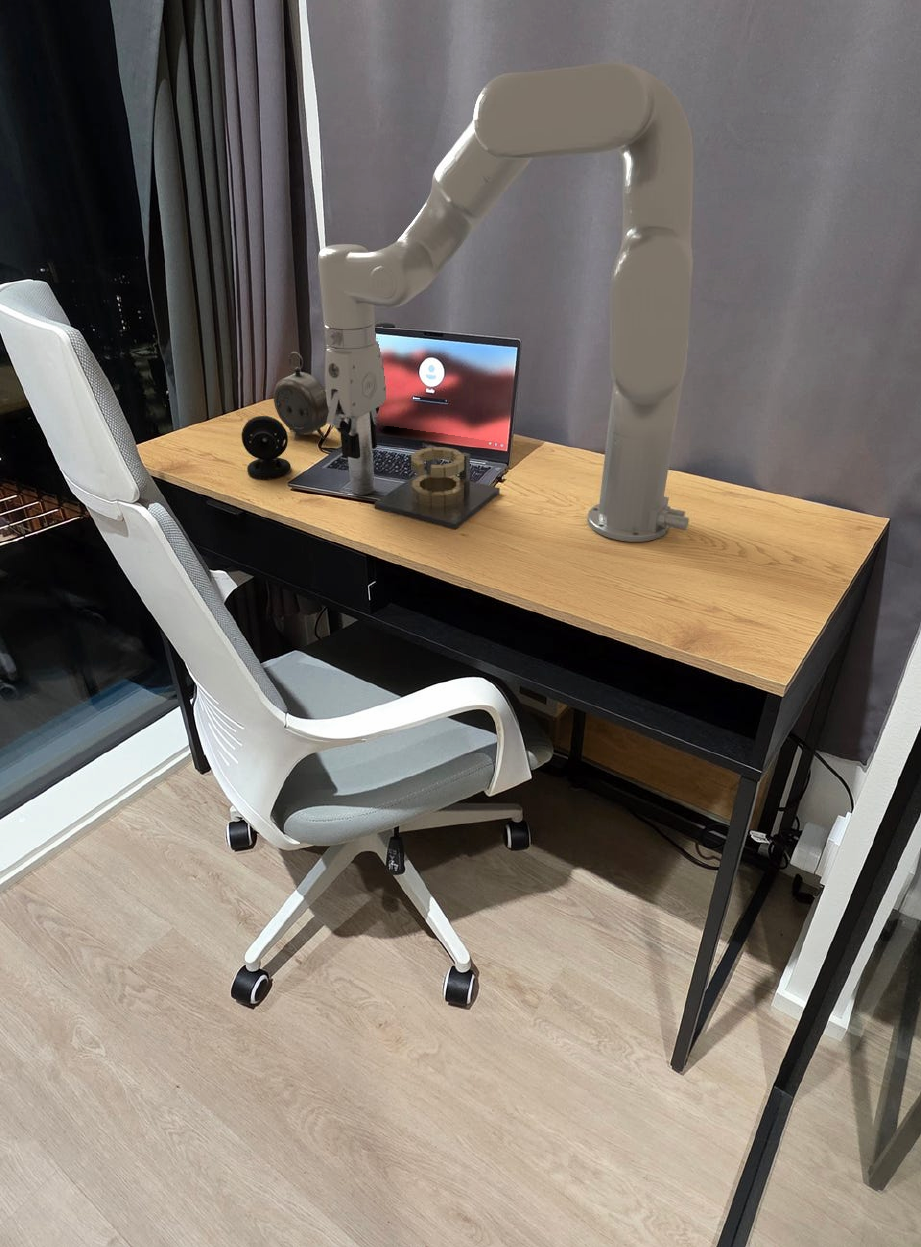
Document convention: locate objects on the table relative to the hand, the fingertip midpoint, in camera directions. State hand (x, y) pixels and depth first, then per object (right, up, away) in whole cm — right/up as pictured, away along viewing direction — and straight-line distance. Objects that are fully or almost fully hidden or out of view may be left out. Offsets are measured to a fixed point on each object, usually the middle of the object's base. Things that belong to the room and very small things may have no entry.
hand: (359, 450), depth 129 cm
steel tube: (0, -6, +4) cm, 7 cm away
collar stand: (+13, -8, +2) cm, 15 cm away
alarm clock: (-14, +8, +25) cm, 30 cm away
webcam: (-17, -1, +11) cm, 21 cm away
